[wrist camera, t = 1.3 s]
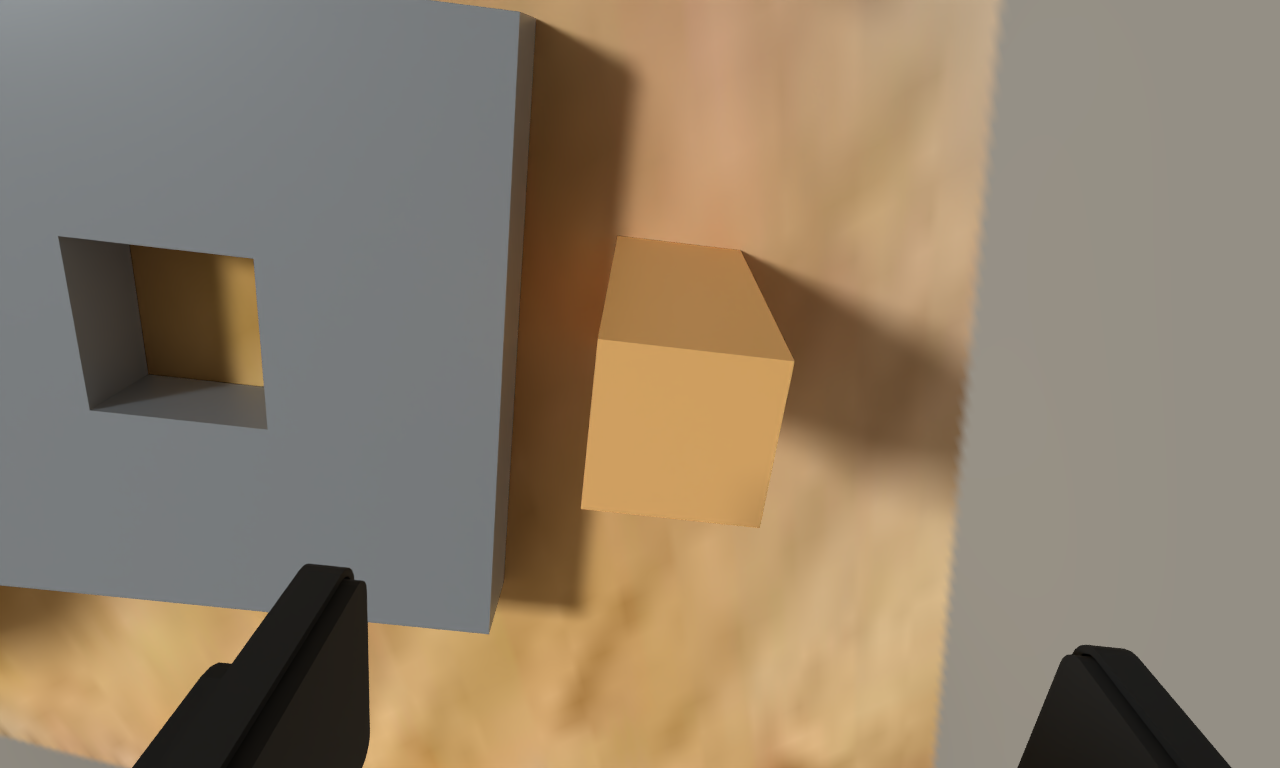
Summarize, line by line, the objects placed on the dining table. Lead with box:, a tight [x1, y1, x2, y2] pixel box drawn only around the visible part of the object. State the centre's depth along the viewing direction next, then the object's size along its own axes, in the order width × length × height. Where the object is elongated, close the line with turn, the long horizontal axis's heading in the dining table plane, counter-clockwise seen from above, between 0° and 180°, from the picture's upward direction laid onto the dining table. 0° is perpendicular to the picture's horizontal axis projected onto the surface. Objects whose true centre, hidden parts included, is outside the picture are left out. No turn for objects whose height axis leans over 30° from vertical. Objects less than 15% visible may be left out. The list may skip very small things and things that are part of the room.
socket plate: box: [0, 0, 536, 634], centre depth 24 cm, size 20×20×3 cm
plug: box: [581, 236, 795, 528], centre depth 21 cm, size 4×4×10 cm
